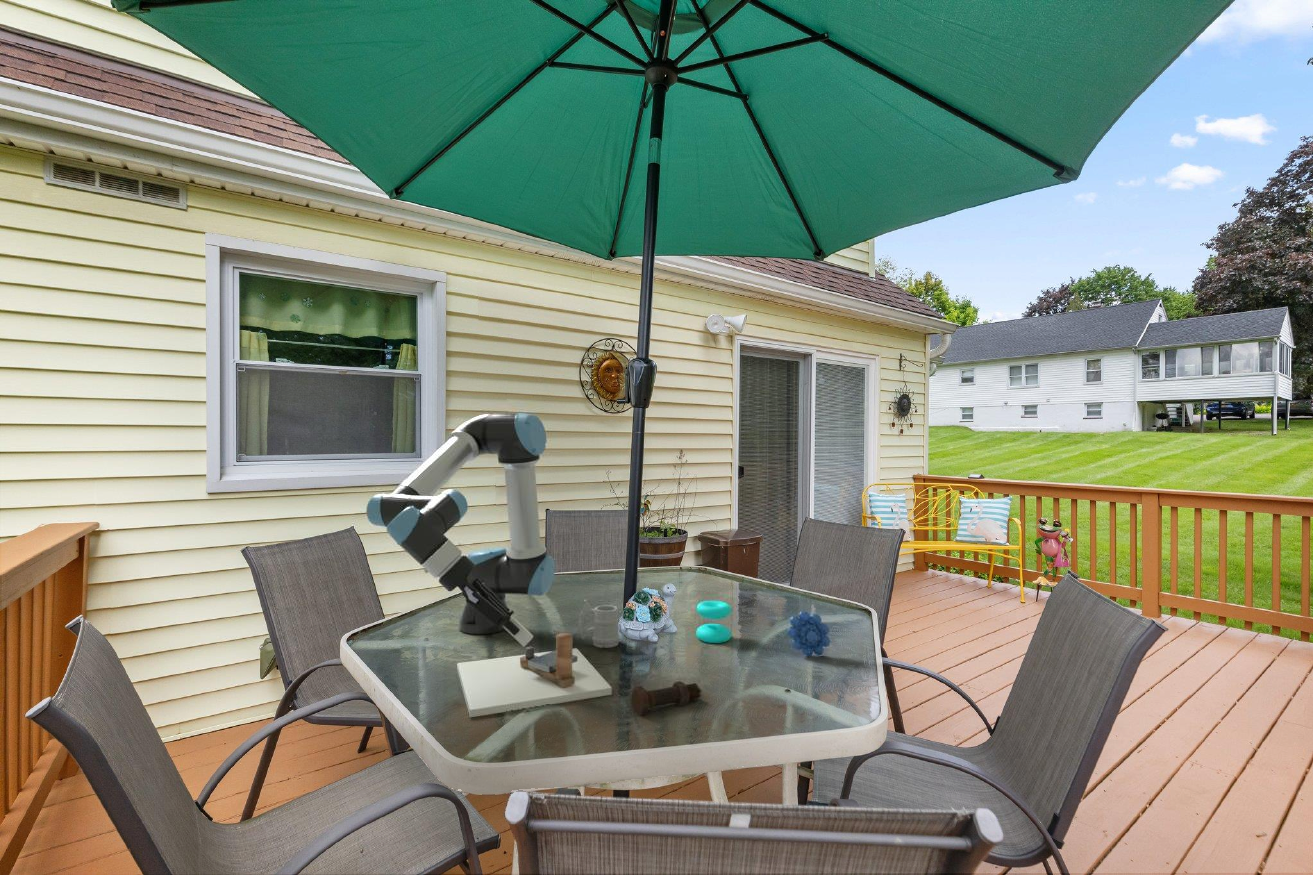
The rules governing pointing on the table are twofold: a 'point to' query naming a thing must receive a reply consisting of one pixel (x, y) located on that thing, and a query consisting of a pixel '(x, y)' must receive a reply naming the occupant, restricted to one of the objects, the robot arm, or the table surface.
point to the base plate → (523, 685)
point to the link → (563, 661)
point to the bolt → (663, 696)
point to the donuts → (713, 631)
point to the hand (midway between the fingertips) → (528, 641)
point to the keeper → (547, 661)
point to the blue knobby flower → (808, 633)
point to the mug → (600, 625)
